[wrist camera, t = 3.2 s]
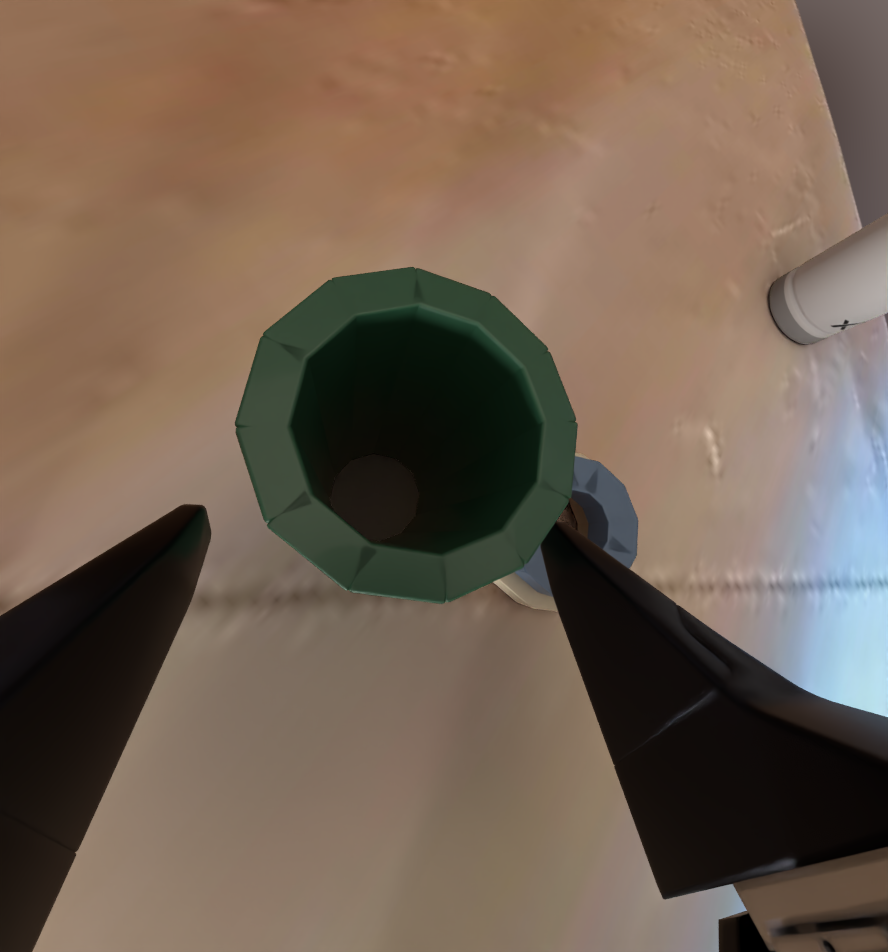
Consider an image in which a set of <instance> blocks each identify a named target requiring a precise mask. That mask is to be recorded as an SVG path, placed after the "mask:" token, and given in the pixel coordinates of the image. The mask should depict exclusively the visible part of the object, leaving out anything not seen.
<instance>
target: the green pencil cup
mask: <svg viewBox="0 0 888 952" xmlns="http://www.w3.org/2000/svg"><path fill="white" fill-rule="evenodd" d="M575 421H576V417H575V414H574V412H573V409H572V407H571V404H570V402H569V399H568V396H567V394H566V391H565V389H564V386H563V384H562V381H561V379H560V376H559V374H558V371H557V368H556V366H555V363H554V361H553V358H552V356H551V353H550V352H548V348H547V346H546V345H545V344H544V343H543V342H541V341H540V340H539V339H538V338H537V337H536V336H535V335H534V334H533V333H532V332H531V331H530V330H529V329H528V328H527V327H526V326H525V325H524V324H523V323H522V322H521V321H520V320H519V319H518V318H517V317H516V316H515V315H514V314H513V313H511V312H510V311H509V310H508V309H507V308H506V307H505V306H504V305H503V304H502V303H501V302H500V301H499V300H498V299H497V298H496V297H495V296H491V294H490V293H488V292H485V291H482V290H479V289H476V288H473V287H471V286H468V285H465V284H462V283H459V282H456V281H453V280H451V279H448V278H445V277H442V276H439V275H436V274H433V273H431V272H428V271H425V270H422V269H419V268H416V269H415V268H414V267H408V268H401V269H393V270H386V271H379V272H371V273H364V274H357V275H350V276H342V277H335V278H332V280H328V281H327V282H326V283H324V284H323V285H322V286H321V287H319V288H318V289H317V290H316V291H314V292H313V293H312V294H311V295H310V296H308V297H307V298H306V299H305V300H303V301H302V302H301V303H300V304H298V305H297V306H296V307H295V308H293V309H292V310H291V311H290V312H288V313H287V314H286V315H285V316H283V317H282V318H281V319H280V320H279V321H277V322H276V323H275V324H274V325H272V326H271V327H270V328H269V329H267V330H266V331H265V332H264V333H263V336H262V337H261V338H260V341H259V344H258V347H257V351H256V354H255V357H254V361H253V364H252V367H251V371H250V374H249V377H248V381H247V384H246V387H245V391H244V394H243V397H242V401H241V404H240V407H239V411H238V414H237V417H236V421H235V426H236V427H237V428H236V435H237V438H238V442H239V445H240V448H241V451H242V454H243V457H244V460H245V463H246V466H247V469H248V472H249V475H250V479H251V482H252V485H253V488H254V491H255V494H256V497H257V500H258V503H259V506H260V509H261V512H262V516H263V519H264V521H265V522H266V523H268V524H267V527H268V528H269V529H270V530H271V531H273V532H274V533H275V534H276V535H278V536H279V537H280V538H281V539H283V540H284V541H285V542H286V543H287V544H289V545H290V546H291V547H292V548H294V549H295V550H296V551H297V552H298V553H300V554H301V555H302V556H303V557H305V558H306V559H307V560H308V561H310V562H311V563H312V564H313V565H314V566H316V567H317V568H318V569H319V570H321V571H322V572H323V573H324V574H326V575H327V576H328V577H329V578H330V579H332V580H333V581H334V582H335V583H337V584H338V585H339V586H340V587H342V588H343V589H344V590H349V591H350V592H352V593H359V594H367V595H375V596H383V597H391V598H399V599H407V600H414V601H422V602H430V603H438V604H443V603H445V602H451V601H453V600H455V599H458V598H460V597H462V596H464V595H466V594H468V593H471V592H473V591H475V590H477V589H479V588H481V587H484V586H486V585H488V584H490V583H492V582H494V581H496V580H499V579H501V578H503V577H505V576H507V575H509V574H512V573H514V572H516V571H518V570H520V569H522V568H523V567H524V565H525V564H527V563H528V562H529V561H530V559H531V558H532V556H533V555H534V553H535V552H536V550H537V549H538V547H539V546H540V544H541V543H542V541H543V540H544V538H545V537H546V535H547V534H548V532H549V531H550V529H551V528H552V527H553V525H554V524H555V522H556V521H557V519H558V518H559V516H560V515H561V513H562V512H563V510H564V509H565V507H566V506H567V504H568V503H569V499H570V498H571V496H572V486H573V474H574V462H575V450H576V438H577V426H578V425H577V423H576V422H575ZM373 453H375V454H379V455H384V456H388V457H393V458H396V459H397V460H398V461H399V462H400V463H402V464H403V465H404V466H405V467H406V468H407V469H408V470H410V471H411V472H412V474H413V477H414V479H415V482H416V485H417V488H418V491H419V498H418V504H417V510H416V515H415V517H414V518H413V519H412V520H411V521H410V523H409V524H408V525H407V526H406V527H405V529H404V530H403V531H402V532H401V533H399V534H396V535H394V536H391V537H388V538H386V539H383V540H380V541H376V540H370V539H366V538H365V537H364V536H363V535H362V534H360V533H359V532H358V531H357V530H356V529H354V528H353V527H352V526H351V525H350V524H348V523H347V522H346V521H345V520H344V519H342V518H341V517H340V516H339V515H338V514H336V513H335V512H334V511H333V508H332V505H331V502H330V496H331V492H332V488H333V483H334V479H335V476H336V475H337V474H338V473H339V472H340V471H341V470H342V469H343V468H344V467H345V466H346V465H347V464H348V463H349V462H350V460H352V459H356V458H359V457H362V456H366V455H369V454H373Z"/></svg>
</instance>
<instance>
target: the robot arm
mask: <svg viewBox="0 0 888 952" xmlns="http://www.w3.org/2000/svg"><path fill="white" fill-rule="evenodd" d="M210 540H211V528H210V523H209V519H208V515H207V510H206V508H205V507H204V506H203V505H192V504H184V505H181V506H179V507H178V508H176V509H174V510H173V511H171V512H170V513H168V514H166V515H165V516H163V517H161V518H160V519H158V520H156V521H155V522H153V523H152V524H150V525H148V526H147V527H145V528H143V529H142V530H140V531H138V532H137V533H135V534H134V535H132V536H130V537H129V538H127V539H125V540H124V541H122V542H120V543H119V544H117V545H116V546H114V547H112V548H111V549H109V550H107V551H106V552H104V553H102V554H101V555H99V556H98V557H96V558H94V559H93V560H91V561H89V562H88V563H86V564H84V565H83V566H81V567H80V568H78V569H76V570H75V571H73V572H71V573H70V574H68V575H66V576H65V577H63V578H62V579H60V580H58V581H57V582H55V583H53V584H52V585H50V586H48V587H47V588H45V589H44V590H42V591H40V592H39V593H37V594H35V595H34V596H32V597H30V598H29V599H27V600H26V601H24V602H22V603H21V604H19V605H17V606H16V607H14V608H12V609H11V610H9V611H8V612H6V613H4V614H3V615H1V616H0V952H32V951H33V949H34V947H35V944H36V942H37V940H38V938H39V936H40V933H41V931H42V929H43V927H44V925H45V922H46V920H47V918H48V916H49V914H50V911H51V909H52V907H53V905H54V903H55V900H56V898H57V896H58V894H59V892H60V889H61V887H62V885H63V883H64V881H65V878H66V876H67V874H68V872H69V870H70V867H71V865H72V863H73V861H74V859H75V856H76V853H75V852H76V851H77V850H78V849H79V847H80V845H81V843H82V840H83V838H84V836H85V834H86V832H87V829H88V827H89V825H90V823H91V821H92V818H93V816H94V814H95V812H96V810H97V807H98V805H99V803H100V801H101V799H102V796H103V794H104V792H105V790H106V788H107V785H108V783H109V781H110V779H111V777H112V774H113V772H114V770H115V768H116V766H117V763H118V761H119V759H120V757H121V755H122V752H123V750H124V748H125V746H126V744H127V741H128V739H129V737H130V735H131V733H132V730H133V728H134V726H135V724H136V722H137V719H138V717H139V715H140V713H141V711H142V708H143V706H144V704H145V702H146V700H147V697H148V695H149V693H150V691H151V689H152V686H153V684H154V682H155V680H156V678H157V675H158V673H159V671H160V669H161V667H162V664H163V662H164V660H165V658H166V656H167V653H168V651H169V649H170V647H171V645H172V642H173V640H174V638H175V636H176V634H177V631H178V629H179V627H180V625H181V623H182V620H183V618H184V616H185V614H186V612H187V609H188V607H189V605H190V602H191V600H192V597H193V594H194V591H195V588H196V585H197V582H198V578H199V575H200V572H201V569H202V566H203V562H204V559H205V556H206V553H207V550H208V546H209V543H210ZM540 548H541V552H542V556H543V560H544V564H545V568H546V572H547V576H548V580H549V584H550V588H551V592H552V595H553V598H554V601H555V604H556V607H557V610H558V612H559V615H560V618H561V621H562V623H563V626H564V629H565V632H566V634H567V637H568V640H569V643H570V646H571V648H572V651H573V654H574V657H575V659H576V662H577V665H578V668H579V670H580V673H581V676H582V679H583V681H584V684H585V687H586V690H587V692H588V695H589V698H590V701H591V703H592V706H593V709H594V712H595V714H596V717H597V720H598V723H599V725H600V728H601V731H602V734H603V737H604V739H605V742H606V745H607V748H608V750H609V753H610V756H611V759H612V761H613V764H614V765H615V766H614V767H615V770H616V773H617V776H618V778H619V781H620V784H621V787H622V789H623V792H624V795H625V798H626V800H627V803H628V806H629V809H630V811H631V814H632V817H633V820H634V822H635V825H636V828H637V831H638V834H639V836H640V839H641V842H642V845H643V847H644V850H645V853H646V856H647V858H648V861H649V864H650V867H651V869H652V872H653V875H654V878H655V880H656V883H657V886H658V888H659V891H660V893H661V895H662V897H663V899H669V898H673V897H678V896H682V895H686V894H690V893H695V892H699V891H703V890H707V889H712V888H716V887H720V886H724V885H729V884H733V886H734V887H735V889H736V891H737V893H738V895H739V897H740V898H741V900H742V902H743V904H744V906H745V908H746V910H747V911H744V912H741V913H738V914H735V915H732V916H729V917H726V918H723V919H719V952H888V717H885V716H881V715H878V714H874V713H871V712H867V711H864V710H860V709H857V708H853V707H849V706H846V705H842V704H839V703H836V702H832V701H829V700H827V699H824V698H821V697H819V696H816V695H814V694H812V693H810V692H808V691H806V690H804V689H802V688H800V687H798V686H797V685H795V684H793V683H792V682H790V681H789V680H787V679H786V678H784V677H783V676H781V675H780V674H778V673H776V672H775V671H773V670H772V669H770V668H769V667H767V666H766V665H764V664H763V663H761V662H760V661H758V660H757V659H755V658H754V657H752V656H751V655H749V654H748V653H746V652H745V651H743V650H742V649H740V648H739V647H737V646H736V645H734V644H733V643H731V642H730V641H728V640H727V639H725V638H724V637H722V636H721V635H720V634H718V633H717V632H715V631H714V630H712V629H711V628H709V627H708V626H707V625H705V624H704V623H702V622H701V621H700V620H698V619H697V618H695V617H694V616H693V615H691V614H690V613H689V612H687V611H686V610H684V609H683V608H682V607H680V606H679V605H676V603H675V602H674V601H672V600H671V599H669V598H668V597H667V596H665V595H664V594H663V593H661V592H660V591H659V590H657V589H656V588H654V587H653V586H652V585H650V584H649V583H648V582H646V581H645V580H644V579H642V578H641V577H640V576H638V575H637V574H635V573H634V572H633V571H631V570H630V569H629V568H627V567H626V566H625V565H623V564H622V563H621V562H619V561H618V560H616V559H615V558H614V557H612V556H611V555H610V554H608V553H607V552H606V551H604V550H603V549H601V548H600V547H599V546H597V545H596V544H595V543H593V542H592V541H591V540H589V539H588V538H587V537H585V536H584V535H582V534H581V533H580V532H578V531H577V530H576V529H574V528H573V527H572V526H570V525H569V524H568V523H566V522H559V521H556V522H555V524H554V525H553V527H552V528H551V529H550V531H549V532H548V534H547V535H546V537H545V538H544V540H543V541H542V543H541V544H540Z"/></svg>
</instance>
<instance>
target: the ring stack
mask: <svg viewBox="0 0 888 952" xmlns="http://www.w3.org/2000/svg"><path fill="white" fill-rule="evenodd" d="M569 503H570V505H571V508H572V511H573V513H574V516H575V518H576V521H577V524H578V526H577V531H578V532H580V533H581V534H582V535H584V536H585V537H587V538H588V539H589V540H591V541H592V542H593V543H595V544H596V545H597V546H599V547H600V548H601V549H603V550H604V551H606V552H607V553H608V554H610V555H611V556H612V557H614V558H615V559H616V560H618V561H619V562H621V563H622V564H623V565H625V566H626V567H627V568H630V567H631V565H632V563H633V561H634V560H635V558H636V556H637V536H638V518H637V516H636V513H635V511H634V508H633V505H632V503H631V500H630V498H629V495H628V493H627V490H626V488H625V486H624V484H622V483H621V482H620V481H619V480H618V479H617V478H616V477H615V476H614V475H613V474H612V473H611V472H610V471H609V470H608V469H607V468H605V467H604V466H603V465H602V464H601V463H600V462H598V461H594V460H590V459H588V458H587V457H586V456H585V455H583V454H579V453H576V452H575V462H574V474H573V486H572V496H571V498H570V499H569ZM493 583H494V584H496V585H497V586H498V587H499V588H500V589H501V590H503V591H504V592H505V593H506V594H507V595H508V596H510V597H511V598H512V599H513V600H514V601H516V602H518V603H520V604H522V605H525V606H527V607H530V608H533V609H540V610H548V611H555V612H558V610H557V607H556V604H555V601H554V598H553V595H552V592H551V588H550V584H549V580H548V576H547V572H546V568H545V564H544V560H543V556H542V552H541V548H540V546H539V547H538V549H537V550H536V552H535V553H534V555H533V556H532V558H531V559H530V561H529V562H528V563H527V564H525V565H524V567H523V568H522V569H520V570H518V571H516V572H514V573H512V574H509V575H507V576H505V577H503V578H501V579H499V580H496V581H494V582H493Z"/></svg>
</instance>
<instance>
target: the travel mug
mask: <svg viewBox="0 0 888 952" xmlns="http://www.w3.org/2000/svg"><path fill="white" fill-rule="evenodd" d="M769 303H770V309H771V312H772V315H773V317H774V320H775V322H776V323H777V325H778V326H779V328H780V329H781V330H782V331H783V333H784V334H786V335H787V336H788V337H789V338H791V339H792V340H794V341H796V342H798V343H801V344H813V343H815V342H818V341H820V340H823V339H825V338H828V337H830V336H832V335H835V334H836V333H840V332H842V331H845V330H847V329H849V328H852V327H854V326H857V325H859V324H862V323H864V322H866V321H869V320H871V319H874V318H876V317H879V316H881V315H883V314H886V313H888V213H887V214H886V215H884V216H882V217H881V218H879V219H877V220H876V221H874V222H872V223H871V224H869V225H867V226H866V227H864V228H862V229H861V230H859V231H857V232H856V233H854V234H852V235H851V236H849V237H847V238H845V239H844V240H842V241H840V242H839V243H837V244H835V245H834V246H832V247H830V248H829V249H827V250H825V251H824V252H822V253H820V254H819V255H817V256H815V257H814V258H812V259H810V260H809V261H807V262H805V263H804V264H802V265H801V266H800V267H797V268H795V269H793V270H792V271H790V272H788V273H787V274H785V275H783V276H782V277H780V278H779V279H777V280H776V281H775V283H774V284H773V285H772V288H771V290H770V297H769Z"/></svg>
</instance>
